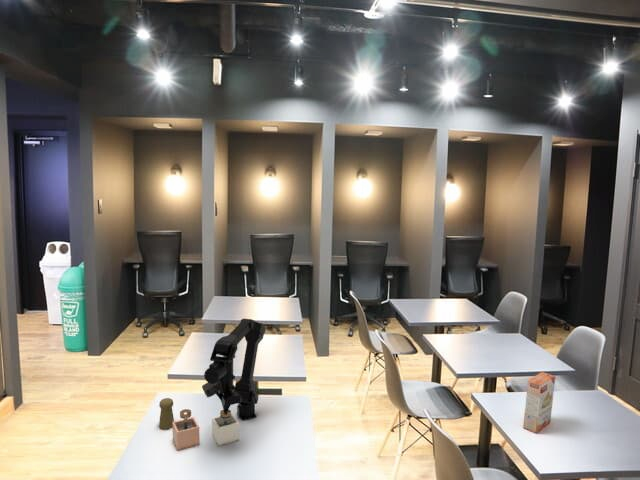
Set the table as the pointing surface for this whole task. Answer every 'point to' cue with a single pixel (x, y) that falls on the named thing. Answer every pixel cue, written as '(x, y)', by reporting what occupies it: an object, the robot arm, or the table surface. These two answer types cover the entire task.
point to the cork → (166, 414)
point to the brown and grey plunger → (185, 420)
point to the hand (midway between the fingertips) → (225, 411)
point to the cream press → (225, 430)
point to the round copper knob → (225, 417)
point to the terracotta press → (185, 434)
